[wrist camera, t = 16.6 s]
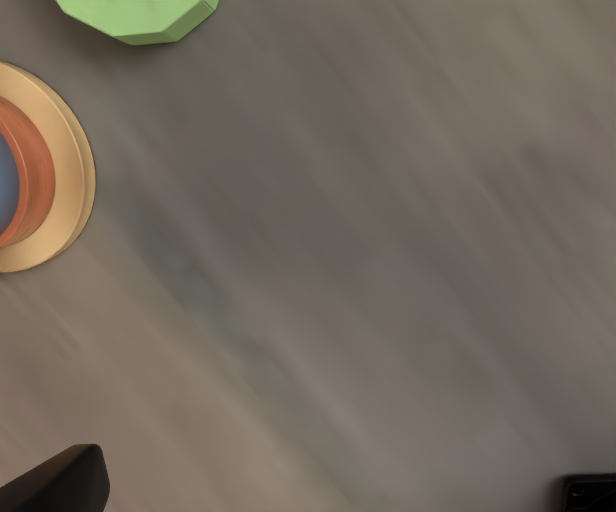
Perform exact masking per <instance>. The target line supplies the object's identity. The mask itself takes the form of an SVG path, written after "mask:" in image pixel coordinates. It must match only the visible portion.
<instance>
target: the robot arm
mask: <svg viewBox="0 0 616 512" xmlns="http://www.w3.org/2000/svg"><path fill="white" fill-rule="evenodd" d="M575 486H578V487H576V488H574V487H575ZM573 488H574V489H573ZM109 492H110V482H109V477H108V473H107V469H106V465H105V460H104V456H103V452H102V449H101V448H100V446H99V445H97V444H77V445H73V446H71V447H69V448H68V449H66V450H64V451H62V452H61V453H59V454H57V455H56V456H54V457H52V458H50V459H49V460H47V461H45V462H44V463H42V464H40V465H38V466H37V467H35V468H33V469H32V470H30V471H28V472H26V473H25V474H23V475H21V476H20V477H18V478H16V479H14V480H13V481H11V482H9V483H8V484H6V485H4V486H2V487H1V488H0V512H103V511H104V508H105V506H106V503H107V500H108V497H109ZM561 512H616V474H612V475H578V476H570V477H568V478H566V479H565V480H564V481H563V485H562V500H561Z"/></svg>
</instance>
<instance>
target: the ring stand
mask: <svg viewBox="0 0 616 512" xmlns="http://www.w3.org/2000/svg"><path fill="white" fill-rule="evenodd" d="M94 195H95V169H94V162H93V157H92V153H91V150H90V146H89V143H88V141H87V138H86V136H85V133H84V131H83V129H82V127H81V126H80V124H79V122H78V120H77V118H76V117H75V115H74V114H73V113H72V111H71V110H70V108H69V107H68V106H67V104H66V103H65V102H64V101H63V100H62V99H61V98H60V96H59V95H58V94H57V93H56V92H54V91H53V90H52V89H51V88H50V87H49V86H48V85H47V84H45V83H44V82H43V81H41V80H40V79H38V78H37V77H36V76H34V75H33V74H31V73H29V72H27V71H25V70H23V69H22V68H19V67H17V66H14V65H12V64H9V63H6V62H3V61H0V273H8V272H15V271H21V270H25V269H28V268H32V267H34V266H36V265H38V264H41V263H43V262H45V261H47V260H50V259H52V258H54V257H55V256H57V255H59V254H60V253H62V252H63V251H64V250H65V249H67V248H68V247H69V246H70V245H71V244H72V243H73V242H74V241H75V239H76V238H77V237H78V236H79V235H80V233H81V231H82V230H83V228H84V226H85V225H86V222H87V220H88V218H89V215H90V213H91V209H92V205H93V202H94Z"/></svg>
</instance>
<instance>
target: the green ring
mask: <svg viewBox="0 0 616 512" xmlns="http://www.w3.org/2000/svg"><path fill="white" fill-rule="evenodd" d="M55 1H56V2H57V3H58V5H59V6H60V7H61V9H62V10H63V12H65V13H66V14H67V15H69V16H71V17H73V18H75V19H77V20H79V21H81V22H83V23H85V24H87V25H89V26H91V27H93V28H95V29H97V30H99V31H101V32H103V33H105V34H107V35H109V36H111V37H113V38H116V39H118V40H120V41H123V42H125V43H127V44H130V45H133V46H134V45H145V44H156V43H167V42H177V41H178V40H180V39H181V38H182V37H183V36H185V35H186V34H187V33H188V32H190V31H191V30H192V29H193V28H195V27H196V26H197V25H198V24H200V23H201V22H202V21H203V20H205V19H206V18H207V17H208V16H210V15H211V14H212V13H213V12H214V11H215V10H216V7H217V4H218V2H219V0H55Z"/></svg>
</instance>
